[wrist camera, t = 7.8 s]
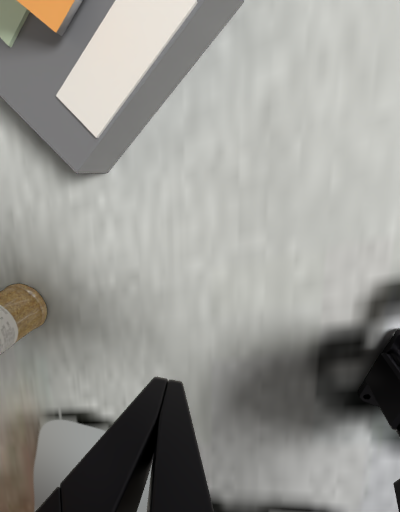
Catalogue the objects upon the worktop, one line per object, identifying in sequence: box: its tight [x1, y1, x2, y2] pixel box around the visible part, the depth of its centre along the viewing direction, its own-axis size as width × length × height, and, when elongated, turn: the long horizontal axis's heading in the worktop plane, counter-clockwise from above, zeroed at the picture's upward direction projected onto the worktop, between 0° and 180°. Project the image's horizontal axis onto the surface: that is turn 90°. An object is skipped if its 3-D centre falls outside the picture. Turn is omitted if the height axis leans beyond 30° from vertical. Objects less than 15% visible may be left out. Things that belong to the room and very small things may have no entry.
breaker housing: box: [0, 0, 244, 173], centre depth 15 cm, size 10×13×4 cm
